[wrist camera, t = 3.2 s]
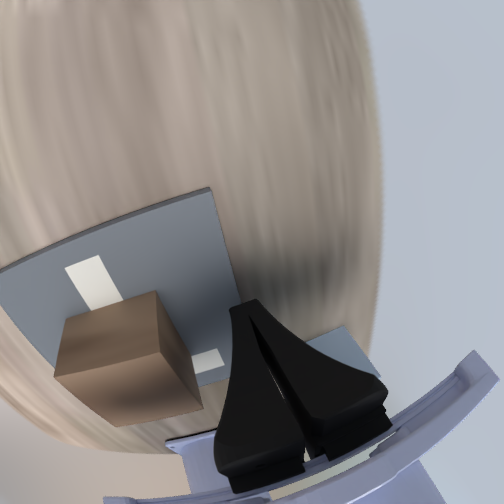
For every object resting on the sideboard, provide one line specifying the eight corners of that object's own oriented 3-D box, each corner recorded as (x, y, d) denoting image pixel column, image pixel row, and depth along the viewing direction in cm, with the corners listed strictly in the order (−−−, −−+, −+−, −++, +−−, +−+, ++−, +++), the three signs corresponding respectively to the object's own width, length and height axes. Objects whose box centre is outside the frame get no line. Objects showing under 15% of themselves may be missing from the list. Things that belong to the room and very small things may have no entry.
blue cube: (338, 361, 21) (367, 406, 17) (283, 384, 20) (308, 435, 16) (342, 324, 18) (381, 376, 14) (278, 352, 18) (308, 413, 14)
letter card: (257, 361, 17) (260, 367, 17) (100, 403, 15) (100, 409, 15) (209, 187, 10) (211, 191, 10) (-12, 275, 9) (-16, 281, 8)
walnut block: (191, 355, 14) (203, 408, 11) (114, 375, 14) (115, 427, 11) (155, 289, 11) (159, 352, 9) (65, 318, 11) (53, 377, 8)
